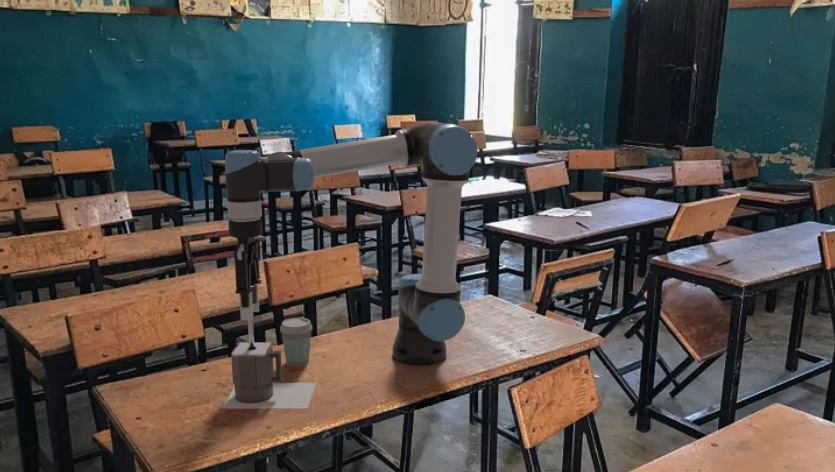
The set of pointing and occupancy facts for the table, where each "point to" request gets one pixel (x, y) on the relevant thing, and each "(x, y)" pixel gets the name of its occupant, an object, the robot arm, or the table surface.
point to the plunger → (250, 322)
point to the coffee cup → (296, 341)
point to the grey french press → (255, 372)
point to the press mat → (278, 397)
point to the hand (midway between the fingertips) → (250, 315)
